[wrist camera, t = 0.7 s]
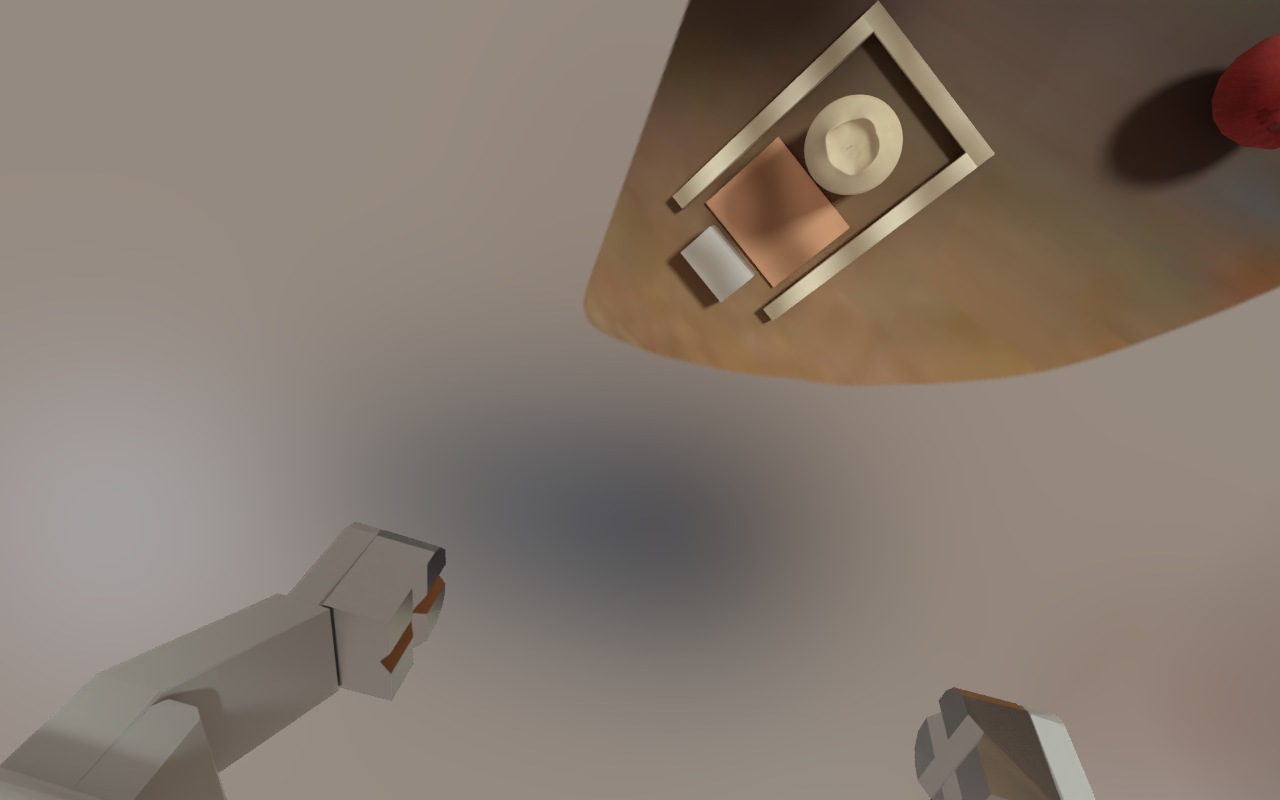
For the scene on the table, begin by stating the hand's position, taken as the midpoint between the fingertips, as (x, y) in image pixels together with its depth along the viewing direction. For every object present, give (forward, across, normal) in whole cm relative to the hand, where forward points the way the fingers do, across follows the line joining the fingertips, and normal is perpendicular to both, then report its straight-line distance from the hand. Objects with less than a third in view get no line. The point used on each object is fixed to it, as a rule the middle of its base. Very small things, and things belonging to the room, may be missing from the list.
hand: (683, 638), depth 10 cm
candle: (+43, -6, -2) cm, 44 cm away
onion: (+41, -27, -10) cm, 50 cm away
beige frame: (+43, -4, 0) cm, 43 cm away
